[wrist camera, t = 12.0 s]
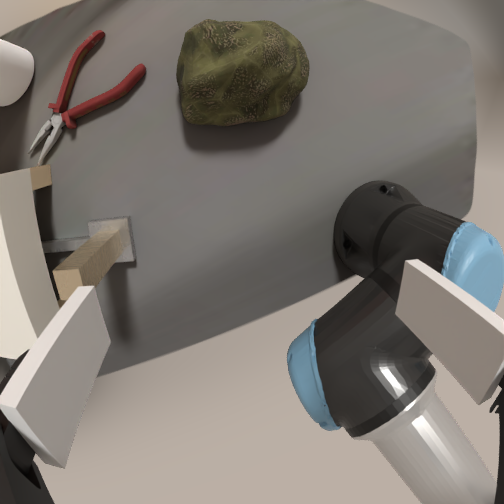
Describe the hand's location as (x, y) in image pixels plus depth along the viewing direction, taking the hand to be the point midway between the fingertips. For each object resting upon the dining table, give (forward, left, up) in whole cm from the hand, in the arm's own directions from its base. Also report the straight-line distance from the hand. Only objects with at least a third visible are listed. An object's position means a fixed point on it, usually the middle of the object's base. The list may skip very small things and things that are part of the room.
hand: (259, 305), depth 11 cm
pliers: (+27, -2, -29) cm, 40 cm away
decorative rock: (+7, -14, -29) cm, 33 cm away
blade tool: (+19, +19, -29) cm, 39 cm away
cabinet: (+23, +22, -29) cm, 43 cm away
